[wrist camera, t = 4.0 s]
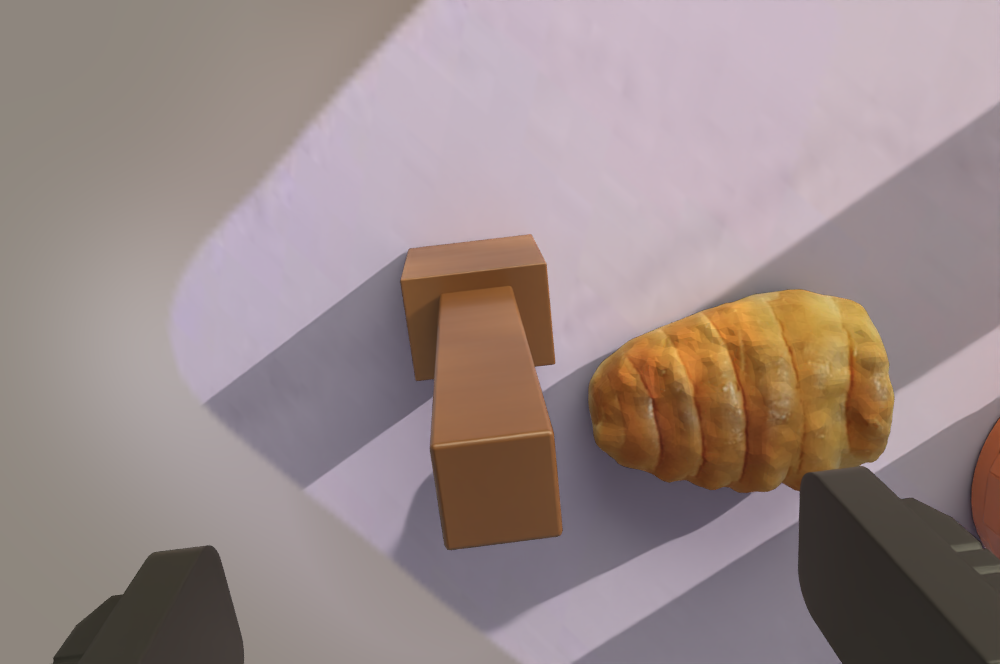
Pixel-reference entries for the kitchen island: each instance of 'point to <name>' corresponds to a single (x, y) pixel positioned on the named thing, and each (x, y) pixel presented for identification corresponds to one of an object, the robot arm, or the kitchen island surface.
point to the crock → (988, 492)
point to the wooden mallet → (486, 386)
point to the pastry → (748, 393)
